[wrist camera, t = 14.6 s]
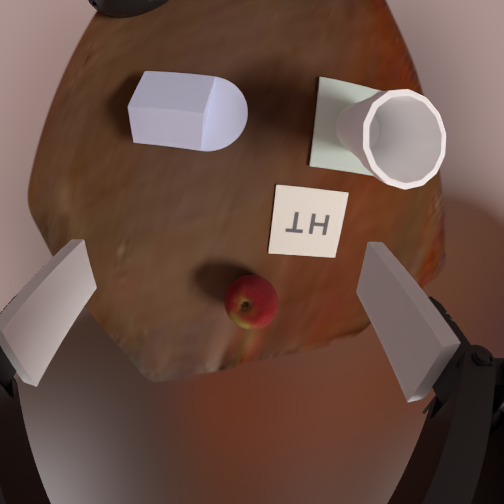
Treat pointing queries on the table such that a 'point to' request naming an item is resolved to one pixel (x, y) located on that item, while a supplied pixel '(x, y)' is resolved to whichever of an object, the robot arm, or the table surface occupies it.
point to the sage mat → (324, 135)
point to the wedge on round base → (186, 111)
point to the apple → (251, 302)
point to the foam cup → (395, 137)
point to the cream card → (306, 221)
